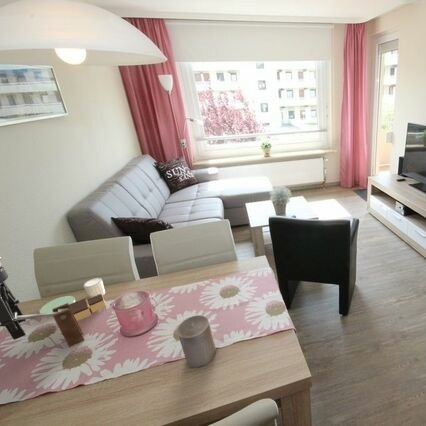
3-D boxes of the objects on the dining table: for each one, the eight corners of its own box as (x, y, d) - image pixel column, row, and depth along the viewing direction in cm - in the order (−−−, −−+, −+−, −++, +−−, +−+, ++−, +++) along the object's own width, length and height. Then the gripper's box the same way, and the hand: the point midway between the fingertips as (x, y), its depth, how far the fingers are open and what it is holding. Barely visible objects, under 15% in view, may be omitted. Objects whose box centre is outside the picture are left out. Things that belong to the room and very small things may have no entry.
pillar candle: (203, 340, 107) (194, 308, 101) (222, 350, 102) (214, 318, 96) (180, 360, 99) (169, 327, 93) (199, 373, 94) (189, 338, 88)
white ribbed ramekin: (95, 301, 130) (90, 288, 127) (85, 298, 132) (79, 285, 129) (110, 291, 135) (105, 279, 133) (99, 288, 138) (94, 276, 135)
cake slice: (93, 314, 122) (88, 304, 119) (91, 308, 125) (87, 299, 123) (107, 308, 125) (103, 299, 122) (105, 303, 128) (101, 293, 126)
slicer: (8, 326, 92) (10, 319, 91) (9, 317, 95) (10, 311, 95) (68, 319, 102) (69, 313, 102) (66, 311, 106) (67, 305, 105)
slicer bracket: (61, 357, 103) (42, 322, 96) (59, 343, 108) (41, 310, 102) (95, 340, 109) (79, 307, 102) (92, 329, 114) (77, 297, 108)
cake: (68, 327, 115) (62, 317, 113) (66, 317, 121) (61, 307, 119) (92, 317, 120) (87, 307, 118) (89, 307, 126) (85, 298, 124)
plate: (40, 321, 119) (39, 319, 119) (40, 306, 128) (39, 305, 127) (77, 306, 127) (76, 304, 126) (74, 294, 135) (73, 292, 134)
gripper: (0, 281, 82) (35, 341, 91) (4, 254, 96) (34, 307, 105) (-40, 294, 77) (2, 355, 86) (-29, 263, 92) (6, 318, 101)
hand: (20, 329), depth 96 cm, fingers open, 8 cm apart
